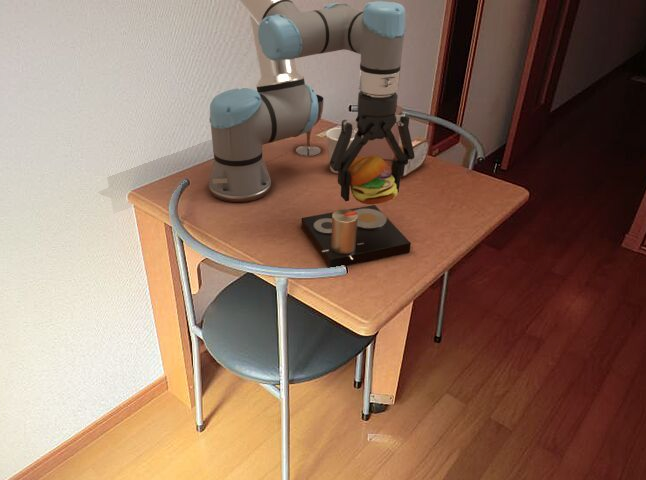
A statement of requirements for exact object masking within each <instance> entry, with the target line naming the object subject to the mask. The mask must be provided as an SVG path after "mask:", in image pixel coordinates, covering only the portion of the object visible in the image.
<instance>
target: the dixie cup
mask: <svg viewBox="0 0 646 480" xmlns="http://www.w3.org/2000/svg"><path fill="white" fill-rule="evenodd" d="M356 132H357V130H355V129H354V132H353V133H352V136H351V139H350V142H349V145H348V147H349V146H350V144H351V143H352V141H353V139H354V136H355V134H356ZM340 133H341V127H334V128H330V129H329V130H327V131H326V133H325V136H326V140H327V151H328V152H327V153H328V161H329V162H328V164H329V163H330V160H331V158H332V155H333V152H334V149H335V147H336V144H337V141H338V139H339V136H340ZM348 147H347V149H348ZM329 170H330V171H331V172H332V173H335V174H338V171H334V170H333V169H332V167H331V166H330V165H329Z"/></svg>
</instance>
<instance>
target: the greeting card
mask: <svg viewBox="0 0 646 480" xmlns="http://www.w3.org/2000/svg"><path fill="white" fill-rule="evenodd" d="M403 109H404V107H403V106H400V105H397V107H396V112H395V115H399V113H403ZM391 131H392V133H393V135H394V137H395V140H396V141H397V143H398V145H399V146H400V134H399V130H398V125H397V124H396V123H395V124H394V126H393V127H392V129H391ZM362 138H363V135H362ZM373 155H377V156H379V157H381V158H383V159H384V160H390V161H392V160H393V157H394V153H393V151H392V149H391V148H390V146H389V144H388V143H387V141H386V139H385V137H384V139H375V140H371V141H370V140H368V142H367V144H366V145H364V146H363V147H362V149H361V150H360V152H359V153H358V155H357V156H356V158H361V157H367V156H373Z"/></svg>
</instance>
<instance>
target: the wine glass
mask: <svg viewBox="0 0 646 480" xmlns="http://www.w3.org/2000/svg"><path fill="white" fill-rule="evenodd" d="M316 96H317V100H318V117H317V121H316V123H315V124H314V127H315V126H316V125H317V124H318V123H319V122H320V121H321V119H322V116H323V111H324V97H323V96H322V95H319V94H316ZM314 127H313V128H312V129H311V130H310V131H309V132H307V133H305V134H306V144H305V145H300V146H298V147H297V148H296V149H295V153H297V154H298V155H300V156H307V157H310V156H311V157H312V156H317V155H319V154H321V152H322V151H321V148H320V147H318V146H317V145H312V144H311V133H312V131H313V129H314Z"/></svg>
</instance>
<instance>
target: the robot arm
mask: <svg viewBox="0 0 646 480" xmlns="http://www.w3.org/2000/svg"><path fill="white" fill-rule="evenodd" d="M238 2H239V3H240V4H241V5H242V7H243V8H244V10H246V12H247V13H248V16H249V21H250V27H251V32H252V37H253V42H254V47H255V52H256V58H257V63H258V69H259V74H260V78H259V80H258V81H257V83H256V85H255V86H256V90H255V89H254V88H249V87H243V88H233V89H227V90H225V91H223V92H221V93H218V94H217V95H216V96H214V97H213V98H212V100H211V102H210V104H209V124H210V133H211V140H212V141H211V142H212V149H213V164H212V168H211V171H210V176H209V179H208V188H209V193H210V194H211V195H212V196H213V197H214V198H216V199H218V200H221V201H224V202H229V203H248V202H253V201H257V200H259V199H262V198H263V197H265V196H267V195H268V194H269V193H270V192H271V190H272V179H271V176H270V173H269V171H268V168H267V166H266V163H265V160H264V157H263V155H264V154H263V145H266V144H270V143H274V142H278V141H282V140H285V139H289V138H296V137H299V136H301V135H303V134H306V133H307V132H309V131H310V130H311V129H312V128H313V129H314V128H315V126H314V124H315V123H316V121H317V117H318V100H317V96H316V95H317V94H316V92H314V91H315V90H314V88H313V87H312V86H311V85H309V84H307V83H305V77H304V76H303V75H302V74H300V73H299V72H298V70H297V67H296V61H295V59H300V58H304V57H310V56H314V55H320V54H321V55H322V54H327V53H332V52H338V51H343V50H345V51H350V52H353V53H356V54H359V55H360V62H359V63H360V64H359V78H358V79H359V80H358V90H359V92H358V93H357V94H358V95H357V117H356V118H355V120H349V121H348V120H347V119H343V120H342V121H341V127H340V128H341V133H340V136H339V139H338V141H337V144H336V147H335V149H334V152H333V155H332V158H331V160H330V163H329V162H328V164H329V165H328V166H329V167H330V166H331V167H332V169H333V170H334V171H338V173H337V184H338V185H339V186H340V197H341V199H343V200H344V201H345V202H349V201H350V192H351V187H350V176H351V172H350V171H349V170H348V169H349V167H350V166H351V164H352V163H353V161H354V159H357V157H356V156H357V155H358V153H359V152H360V150H361V149H362V147H363V146H364V145H366V144H367V142H368V140H370V141H371V140H375V139H384V137H385V139H386V141H387V143H388V144H389V146H390V148H391V149H392V151H393V153H394V155H395V156H396V158H397V160H396V159H395V160H393V161H392V160H391V165H392V171H391V172H390V173H391V175H392V176H393V177H394V178H395V181H394V183H396V188H397V190H398V193H399V192H400V185H401V176H403V175H404V168H405V165H407V164H408V160H409V159H414V157H415V155H414V151H413V146H412V141H411V140H412V138H411V137H412V136H411V133H410V127H409V126H410V117H409V116H408V115H407V114H405V113H404V112H402V113H399V115H395V112H396V107H397V106H398V96H399V95H398V94H397V93H398V91H399V85H400V84H399V83H400V75H401V66H402V65H401V64H402V57H403V56H402V55H403V48H404V47H403V46H404V41H405V34H406V9H405V7H404V5H402V4H401V3H398V2H393V1H387V0H385V1H384V0H378V1H377V0H375V1H369V2H367V3H366V4H365V5H364V7H363V9H361V8H358V7H356V6H351V5H350V4H349V5H348V4H347V3H336V2H332V3H328V4H327V5H326V6H324V7H323V8H321V9H317V10H316V9H315V10H308V11H301V10H300V9H299V8H298V6H297V5H296V4H295V3H294V1H292V0H238ZM395 123H396V124H397V125H398V130H399V134H400V137H399V139H400V142H401V145H402V147H403V151H404V153H403V152H402V150H401V148H400V144H399V145H398V143H397V141H396V140H395V137H394V135H393V133H392V131H391V129H392V127H393V126H394V124H395ZM356 128H357V130H356V134H355V136H354V139H353V141H352V143H351V144H350V146H349V147H348V145H349V142H350V139H351V136H352V133H353V132H354V130H355V129H356ZM313 129H312V130H313ZM362 135H363V138H362ZM347 147H348V149H347Z"/></svg>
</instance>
